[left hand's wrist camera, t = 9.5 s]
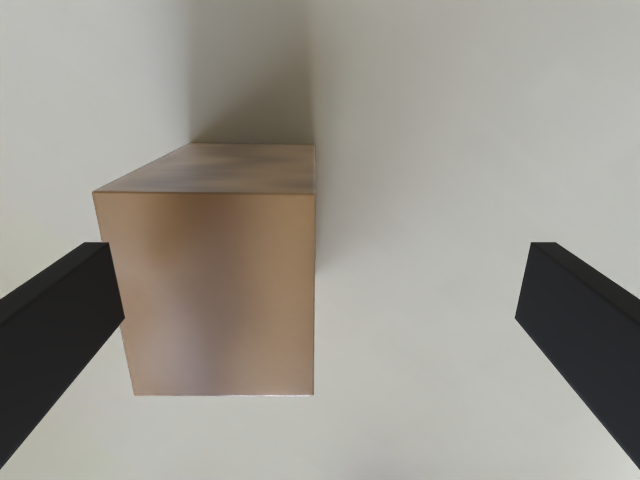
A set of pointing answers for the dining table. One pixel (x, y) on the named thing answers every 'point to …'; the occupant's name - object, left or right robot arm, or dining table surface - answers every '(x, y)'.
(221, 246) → the brown wooden block
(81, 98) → the dining table surface
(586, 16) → the dining table surface
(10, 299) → the left robot arm
